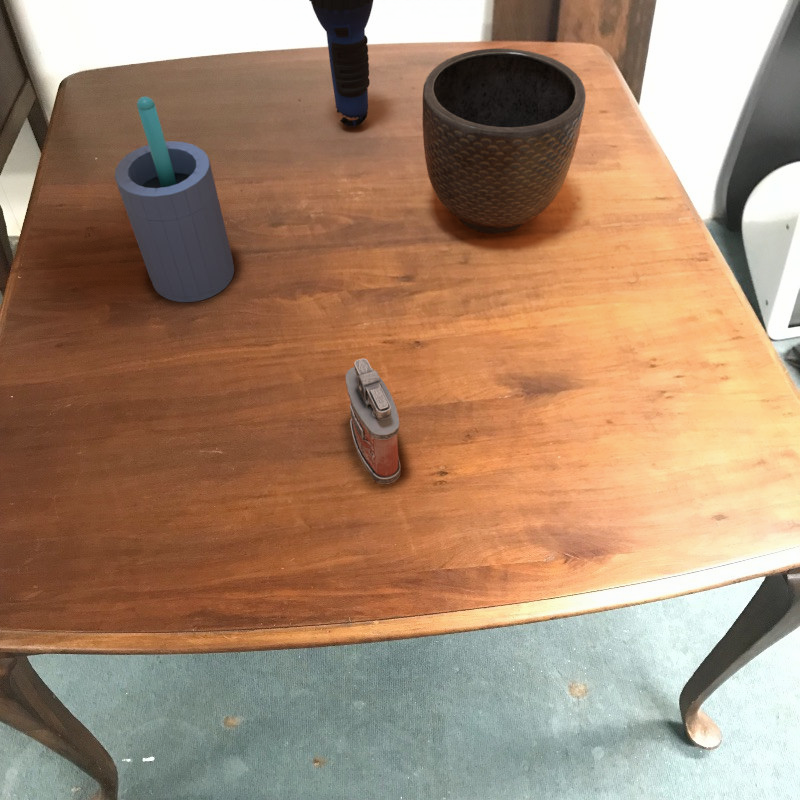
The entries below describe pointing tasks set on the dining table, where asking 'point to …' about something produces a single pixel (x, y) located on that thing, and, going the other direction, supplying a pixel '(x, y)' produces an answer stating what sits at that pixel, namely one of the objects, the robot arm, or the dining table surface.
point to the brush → (156, 141)
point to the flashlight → (347, 54)
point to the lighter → (373, 422)
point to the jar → (177, 222)
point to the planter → (500, 134)
